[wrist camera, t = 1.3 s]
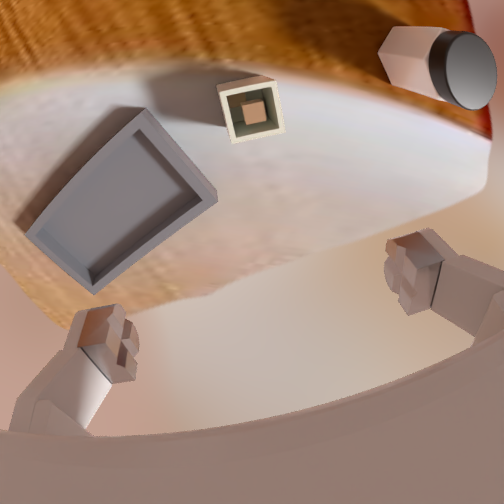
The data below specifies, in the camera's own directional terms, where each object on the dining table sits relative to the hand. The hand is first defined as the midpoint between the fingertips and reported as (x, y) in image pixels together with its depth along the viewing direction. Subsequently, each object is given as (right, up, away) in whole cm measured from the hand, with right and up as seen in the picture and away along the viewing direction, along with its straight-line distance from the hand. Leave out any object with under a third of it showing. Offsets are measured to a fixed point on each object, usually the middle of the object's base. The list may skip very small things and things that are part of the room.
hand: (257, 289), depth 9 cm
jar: (+19, +25, +21) cm, 37 cm away
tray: (-17, +7, +27) cm, 33 cm away
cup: (-1, +17, +22) cm, 28 cm away
